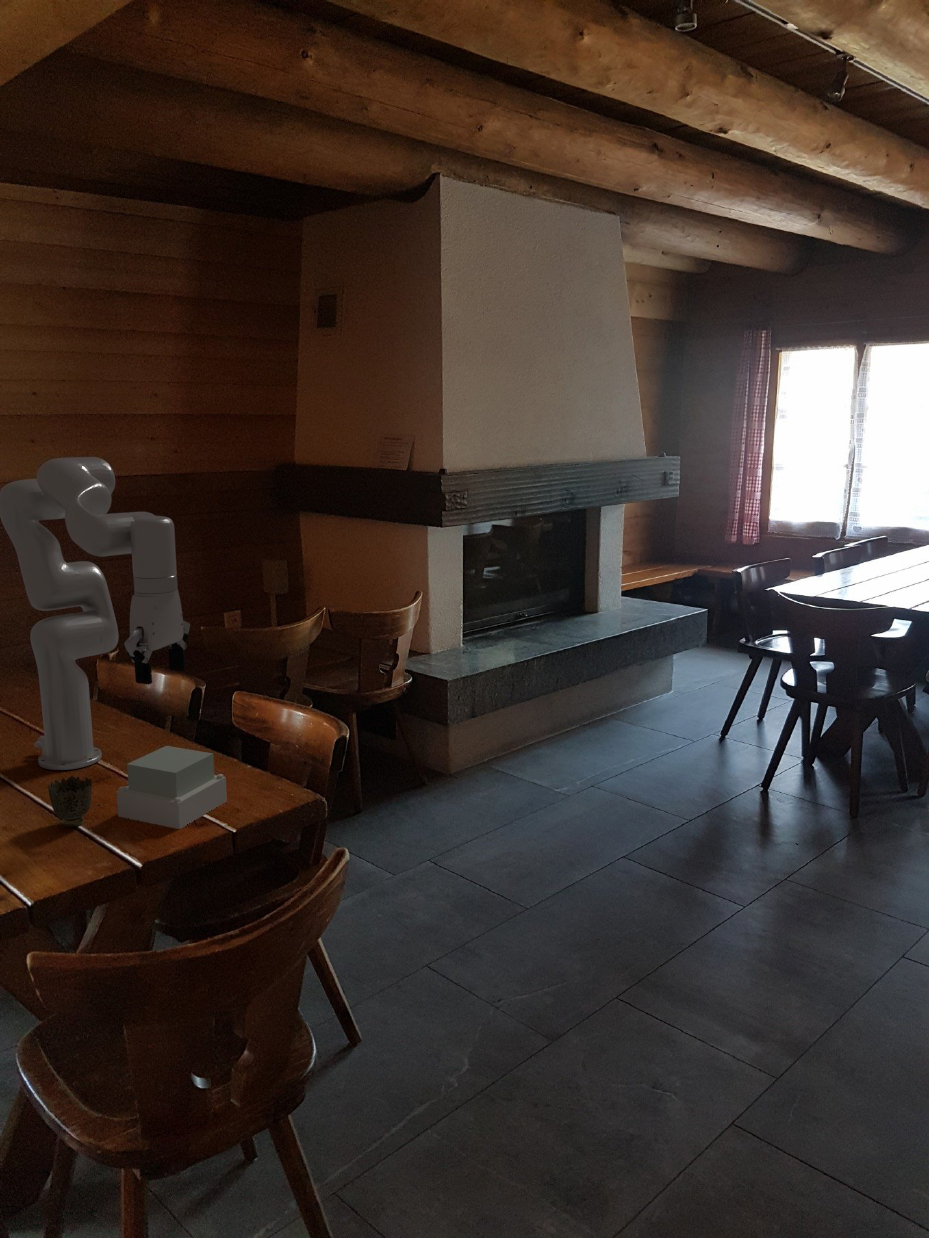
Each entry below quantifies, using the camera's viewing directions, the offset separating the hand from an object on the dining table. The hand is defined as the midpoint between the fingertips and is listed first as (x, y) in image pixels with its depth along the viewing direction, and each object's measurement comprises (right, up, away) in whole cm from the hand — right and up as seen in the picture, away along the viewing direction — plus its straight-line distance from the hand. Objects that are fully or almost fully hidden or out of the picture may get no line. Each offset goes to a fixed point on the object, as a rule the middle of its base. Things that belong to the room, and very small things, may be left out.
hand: (161, 676), depth 180 cm
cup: (-15, -27, -2) cm, 31 cm away
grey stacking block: (+1, -25, +5) cm, 26 cm away
